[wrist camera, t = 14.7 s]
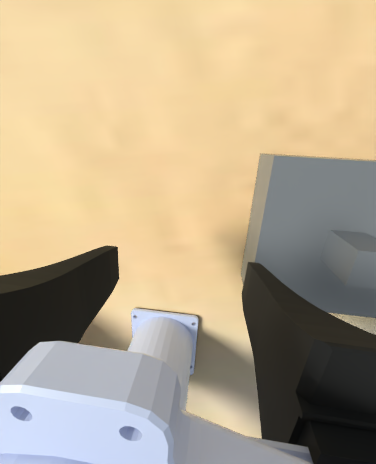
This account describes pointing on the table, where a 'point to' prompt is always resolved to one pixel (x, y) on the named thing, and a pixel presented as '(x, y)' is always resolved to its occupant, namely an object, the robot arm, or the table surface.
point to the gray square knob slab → (317, 229)
